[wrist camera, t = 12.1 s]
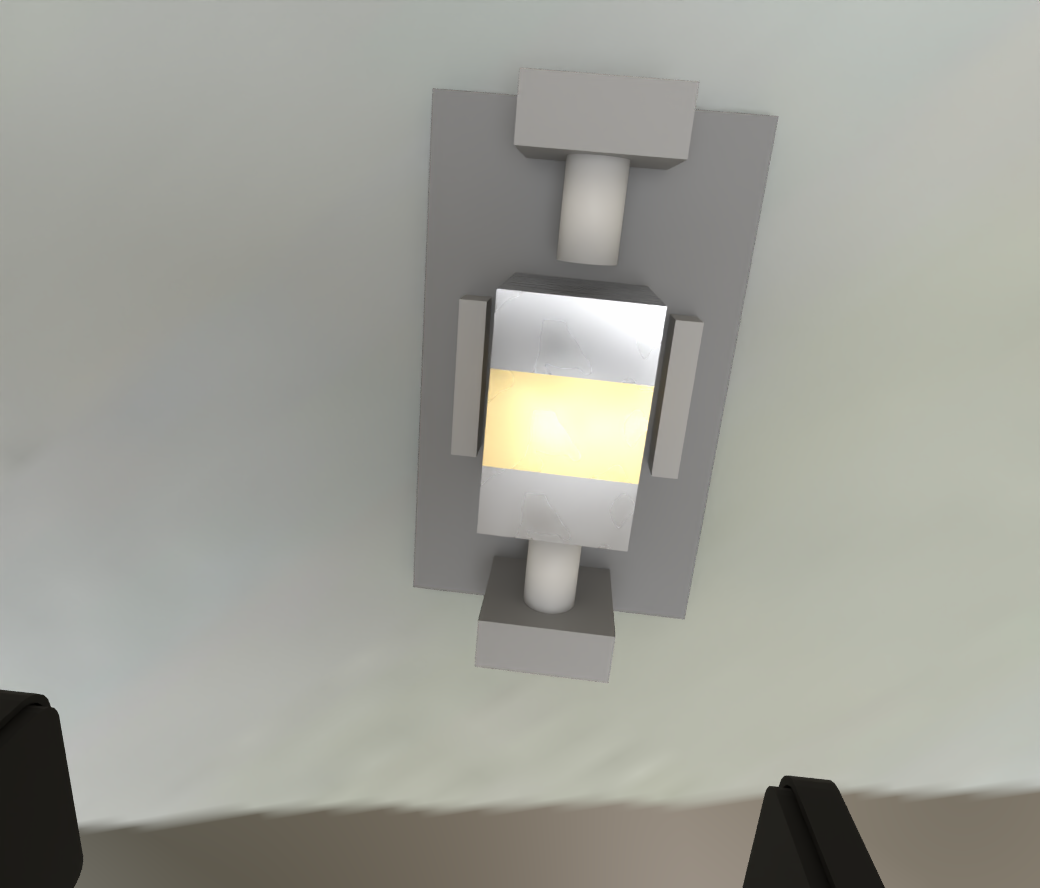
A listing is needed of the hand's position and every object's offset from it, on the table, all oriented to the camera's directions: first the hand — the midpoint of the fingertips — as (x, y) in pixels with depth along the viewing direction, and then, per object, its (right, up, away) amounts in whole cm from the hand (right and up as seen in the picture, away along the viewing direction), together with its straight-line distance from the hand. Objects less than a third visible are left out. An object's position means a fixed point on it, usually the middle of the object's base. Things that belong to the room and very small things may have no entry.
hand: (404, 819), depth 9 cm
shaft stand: (+4, +8, +19) cm, 21 cm away
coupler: (+3, +7, +18) cm, 20 cm away
